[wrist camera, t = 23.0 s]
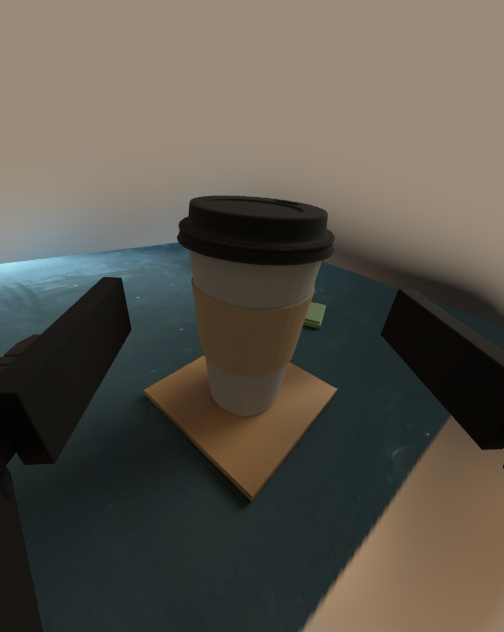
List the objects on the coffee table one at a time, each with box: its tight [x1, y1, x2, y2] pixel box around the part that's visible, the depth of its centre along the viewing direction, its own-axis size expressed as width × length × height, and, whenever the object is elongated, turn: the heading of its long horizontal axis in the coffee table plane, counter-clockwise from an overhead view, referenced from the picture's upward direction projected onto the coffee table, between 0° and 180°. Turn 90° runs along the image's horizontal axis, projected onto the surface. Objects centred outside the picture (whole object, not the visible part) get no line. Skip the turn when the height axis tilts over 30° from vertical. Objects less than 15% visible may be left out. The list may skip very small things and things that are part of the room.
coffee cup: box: [177, 196, 335, 416], centre depth 19 cm, size 9×9×15 cm
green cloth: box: [303, 302, 326, 329], centre depth 37 cm, size 10×6×1 cm, turn 70°
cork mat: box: [144, 355, 337, 501], centre depth 23 cm, size 12×12×1 cm
